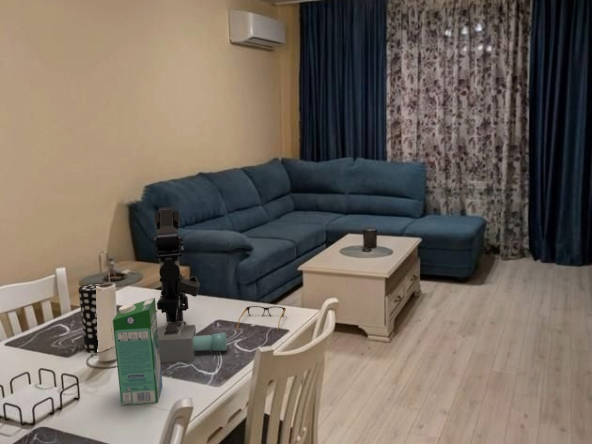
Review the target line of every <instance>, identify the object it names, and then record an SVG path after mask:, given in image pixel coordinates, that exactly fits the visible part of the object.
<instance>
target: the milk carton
mask: <svg viewBox="0 0 592 444" xmlns="http://www.w3.org/2000/svg"><path fill="white" fill-rule="evenodd" d="M157 317H158V316H157V303H156V297H153V298H152V297H151V298H149V299H145V300H143V301H140V302H137V303H136V302H135V303H134V302H129V303H126V304H124V305H121V306H120V307H119V308H118V311H117V313H116V315H115V316H114V318H113V319H112V325H113V326H112V327H113V337H114V345H115V348H114V349H115V356H116V366H117V368H116V369H117V376H118V387H119V395H120V405H121V404H123V405H122V406H128V405H127V404H132V405H143V403H146V404H156V403H158V402H159V399H160V395H161V392H162V389H163V375H162V374H163V373H162V365H161V364H162V363H161V361H160V350H159V338H158V327H159V326H158V318H157ZM125 404H126V405H125Z"/></svg>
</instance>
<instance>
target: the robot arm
mask: <svg viewBox="0 0 592 444" xmlns="http://www.w3.org/2000/svg"><path fill="white" fill-rule="evenodd" d="M153 220H154V224H153V225H154V228H156V236H154V237H153V239H154V257H155V259H158V260H159V277H160V278H159V282H160V283H161V291H160V296H159V298H158V300H157V302H156V310H159V311H161V314H165V320H166V321H165V322H166V323H167V322H176V321H184V311H187V310H188V309H189V297H188V296H187V295H189V296H192V297H197V296H198V293H199V289H200V286H201V283H200V281H198V277H197V276H194V275H191V276H190V278H183V274H182V272H181V268H180V257H183V253H184V251H185V250H184V241H183V237H182V235H181V234H179V233H178V232H179V227H180V226H181V221H180V212H179V211H177V210H176V209H174V207H172V206H171V207H159V208H158V210H157V212H155V213H153ZM184 325H187V322H186V321H184Z"/></svg>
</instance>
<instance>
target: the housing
mask: <svg viewBox="0 0 592 444" xmlns="http://www.w3.org/2000/svg"><path fill="white" fill-rule="evenodd" d="M178 322H180V327H177V332H175V333H166V326H168V325H169V323H170V322H166V325H165V326H157V327H158V338H159V350H160V361H161V364H162V363H163V364H164V363H179V362H181V363H182V362H194V358H195V355H196V351H194V348H193V336H197V328H196V324H185V325H184V322H185V321H184V320H183V321H178Z"/></svg>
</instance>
